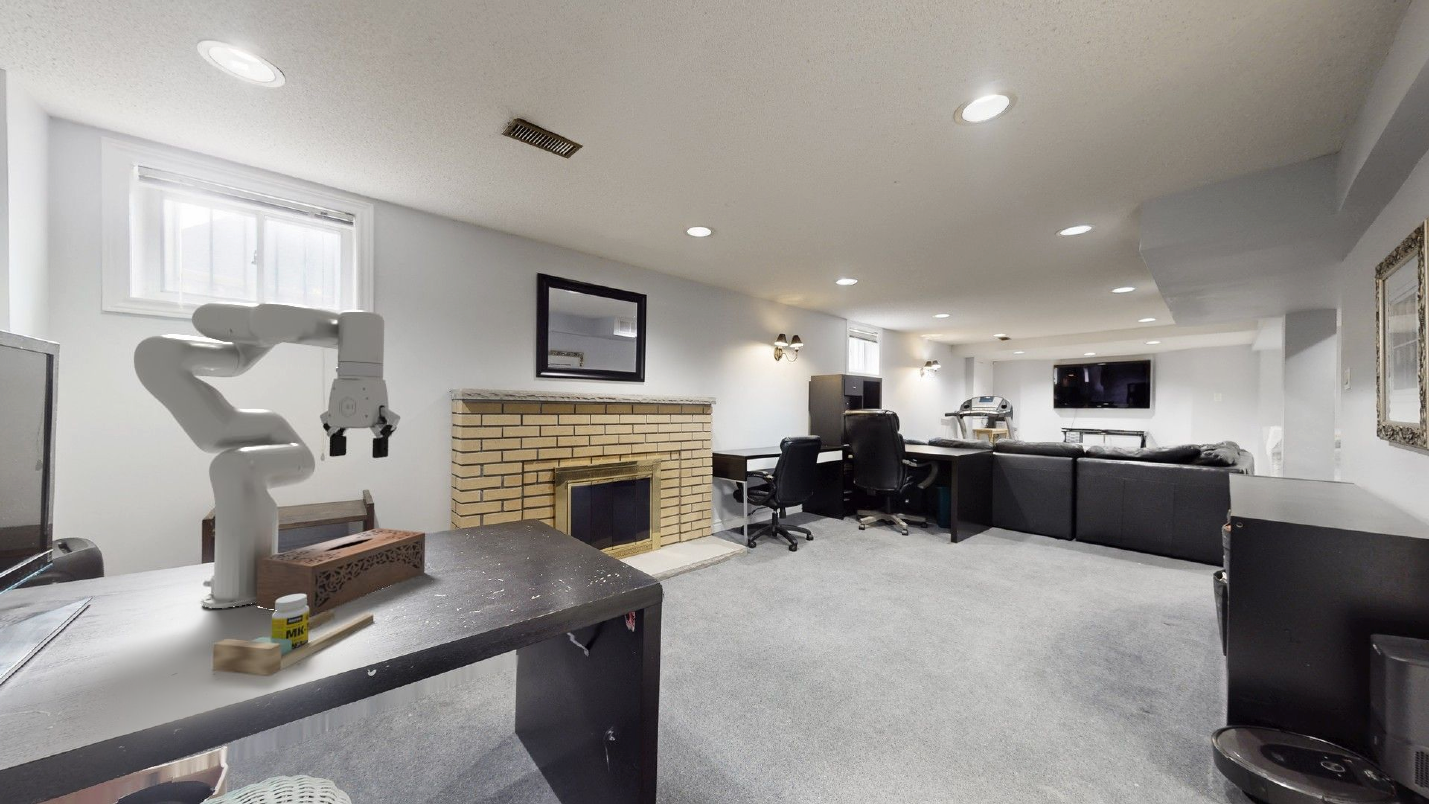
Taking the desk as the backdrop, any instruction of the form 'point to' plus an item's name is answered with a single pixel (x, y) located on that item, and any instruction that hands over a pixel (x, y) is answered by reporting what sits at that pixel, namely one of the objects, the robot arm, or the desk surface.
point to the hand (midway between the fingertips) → (358, 456)
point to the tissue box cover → (341, 568)
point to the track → (276, 649)
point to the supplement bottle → (291, 619)
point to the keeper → (285, 643)
